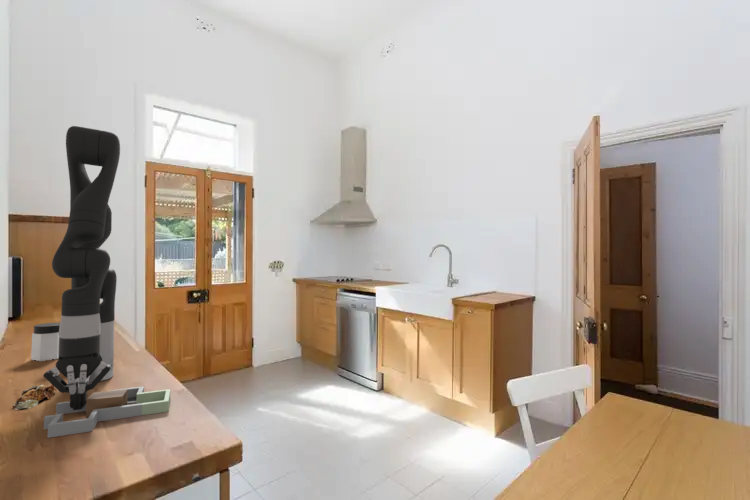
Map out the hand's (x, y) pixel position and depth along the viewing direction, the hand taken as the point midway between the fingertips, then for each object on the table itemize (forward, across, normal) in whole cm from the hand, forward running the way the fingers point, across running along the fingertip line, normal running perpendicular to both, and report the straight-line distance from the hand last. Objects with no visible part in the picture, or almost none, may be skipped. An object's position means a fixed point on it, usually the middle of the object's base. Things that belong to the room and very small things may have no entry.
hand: (78, 408), depth 87 cm
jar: (+2, +24, -64) cm, 68 cm away
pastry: (+3, +13, -17) cm, 21 cm away
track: (+2, -7, 0) cm, 7 cm away
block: (+2, -6, 0) cm, 6 cm away
